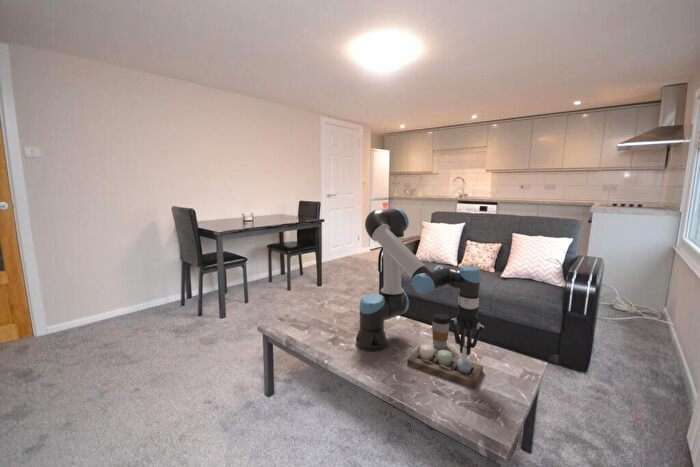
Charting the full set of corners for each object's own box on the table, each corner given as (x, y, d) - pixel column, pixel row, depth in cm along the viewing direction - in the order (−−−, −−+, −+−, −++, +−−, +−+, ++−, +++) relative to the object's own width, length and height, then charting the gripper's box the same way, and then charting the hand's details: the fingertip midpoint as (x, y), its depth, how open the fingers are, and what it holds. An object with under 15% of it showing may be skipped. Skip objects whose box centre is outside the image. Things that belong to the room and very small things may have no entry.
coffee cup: (449, 350, 150) (451, 320, 147) (431, 348, 151) (432, 318, 149) (447, 342, 158) (449, 313, 155) (430, 340, 159) (431, 311, 157)
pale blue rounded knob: (455, 371, 130) (455, 362, 130) (458, 365, 135) (459, 356, 134) (468, 376, 127) (469, 366, 127) (472, 369, 132) (473, 360, 131)
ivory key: (417, 357, 139) (418, 348, 138) (422, 351, 144) (423, 343, 143) (430, 361, 136) (430, 352, 135) (434, 355, 141) (435, 346, 140)
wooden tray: (407, 364, 138) (407, 359, 138) (419, 351, 149) (419, 346, 149) (474, 388, 123) (475, 382, 122) (482, 371, 133) (483, 366, 133)
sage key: (435, 363, 135) (436, 354, 134) (440, 357, 139) (440, 348, 138) (449, 367, 132) (449, 358, 131) (453, 361, 136) (453, 352, 135)
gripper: (448, 305, 127) (445, 360, 131) (483, 312, 120) (479, 370, 124) (454, 299, 133) (451, 352, 137) (487, 306, 126) (483, 361, 130)
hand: (464, 361), depth 130 cm, fingers closed
